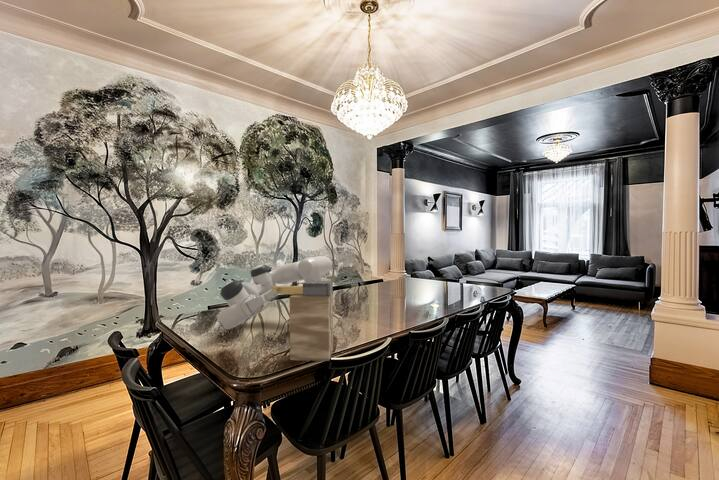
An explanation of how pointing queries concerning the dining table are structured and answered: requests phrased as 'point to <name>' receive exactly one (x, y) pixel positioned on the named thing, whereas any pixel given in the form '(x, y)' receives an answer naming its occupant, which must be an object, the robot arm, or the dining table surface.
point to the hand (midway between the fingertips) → (279, 289)
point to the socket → (317, 288)
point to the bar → (288, 289)
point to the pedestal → (311, 327)
